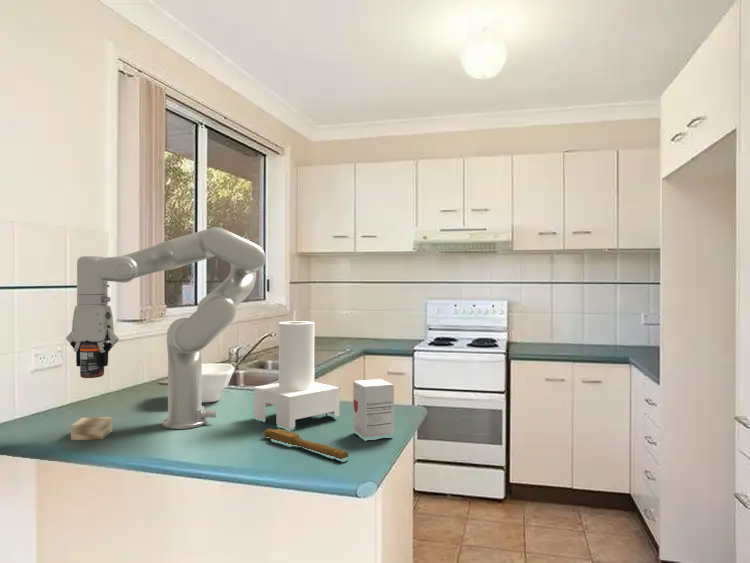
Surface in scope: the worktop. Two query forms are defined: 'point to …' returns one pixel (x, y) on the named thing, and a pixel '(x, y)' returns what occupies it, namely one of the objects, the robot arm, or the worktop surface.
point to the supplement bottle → (90, 360)
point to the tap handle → (304, 443)
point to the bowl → (215, 380)
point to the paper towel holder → (296, 380)
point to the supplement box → (373, 407)
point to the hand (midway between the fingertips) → (92, 365)
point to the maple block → (91, 428)
